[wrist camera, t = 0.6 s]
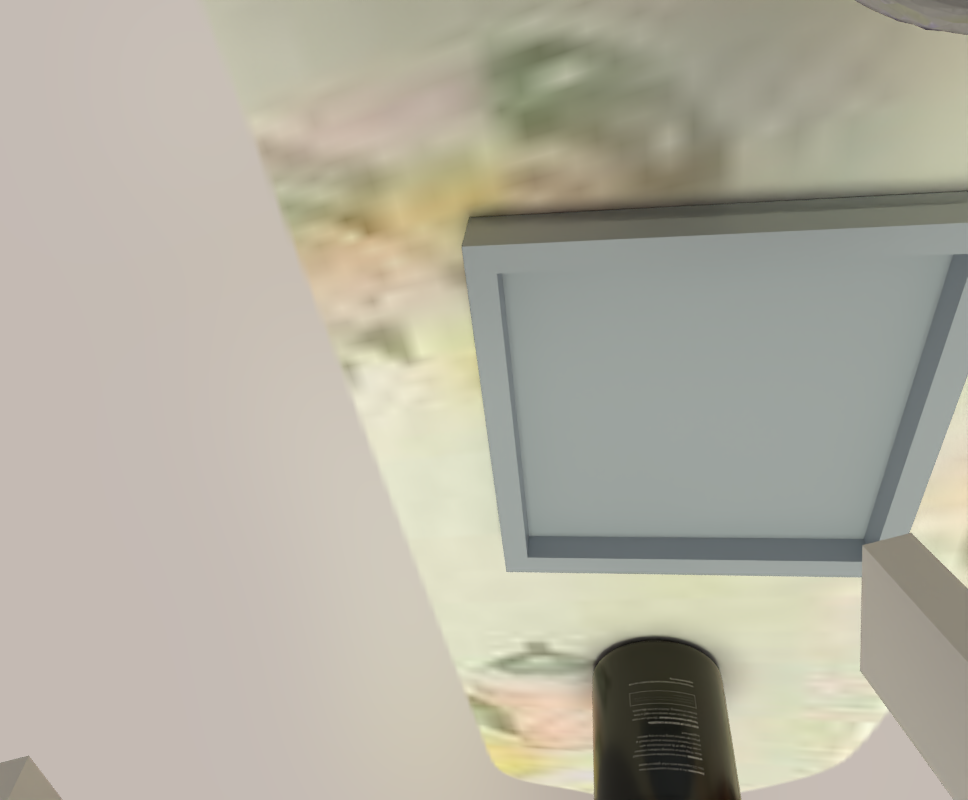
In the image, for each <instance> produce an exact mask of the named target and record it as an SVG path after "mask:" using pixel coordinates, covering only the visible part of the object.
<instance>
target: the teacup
mask: <svg viewBox="0 0 968 800" xmlns="http://www.w3.org/2000/svg"><path fill="white" fill-rule="evenodd" d="M855 1H857V2H859V3H861V4H862V5H864V6H866V7H868V8H870V9H872V10H874V11H876V12H879V13H881V14H883V15H885V16H888V17H890V18H893V19H895V20H897V21H900V22H905V23H909V24H914V25H916V26H918V27H921V28H923V29H926V30H937V31H946V32H952V33H958V34H964V35H968V0H855Z"/></svg>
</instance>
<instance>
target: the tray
mask: <svg viewBox="0 0 968 800" xmlns="http://www.w3.org/2000/svg"><path fill="white" fill-rule="evenodd" d="M462 253H463V260H464V267H465V275H466V282H467V289H468V296H469V304H470V311H471V318H472V325H473V332H474V340H475V347H476V354H477V361H478V369H479V376H480V383H481V390H482V398H483V405H484V412H485V419H486V427H487V434H488V441H489V448H490V456H491V463H492V470H493V477H494V485H495V492H496V499H497V506H498V514H499V521H500V528H501V535H502V543H503V550H504V557H505V564H506V572H550V573H615V574H679V575H744V576H808V577H862V545H865V544H869V543H873V542H877V541H881V540H885V539H889V538H893V537H897V536H901V535H905V534H908V533H909V532H910V530H911V527H912V524H913V522H914V519H915V516H916V514H917V511H918V508H919V505H920V503H921V500H922V497H923V495H924V492H925V489H926V486H927V484H928V481H929V478H930V476H931V473H932V470H933V467H934V465H935V462H936V459H937V457H938V454H939V451H940V449H941V446H942V443H943V440H944V438H945V435H946V432H947V430H948V427H949V424H950V421H951V419H952V416H953V413H954V411H955V408H956V405H957V402H958V400H959V397H960V394H961V392H962V389H963V386H964V384H965V381H966V378H967V375H968V191H962V192H944V193H925V194H906V195H887V196H868V197H849V198H830V199H811V200H792V201H773V202H755V203H736V204H717V205H698V206H679V207H660V208H641V209H622V210H603V211H584V212H566V213H547V214H528V215H509V216H490V217H471V218H469V220H468V224H467V228H466V232H465V236H464V240H463V243H462Z"/></svg>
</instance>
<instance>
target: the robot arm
mask: <svg viewBox="0 0 968 800" xmlns="http://www.w3.org/2000/svg"><path fill="white" fill-rule="evenodd" d="M860 671H861V672H862V674H863V675H864V677H865V678H866V679H867V681H868V682H869V683H870V685H871V686H872V688H873V689H874V690H875V692H876V693H877V695H878V696H879V697H880V699H881V700H882V701H883V703H884V704H885V706H886V707H887V708H888V710H889V711H890V712H891V714H892V715H893V717H894V718H895V719H896V721H897V722H898V723H899V725H900V726H901V728H902V729H903V730H904V732H905V733H906V735H907V736H908V737H909V739H910V740H911V741H912V743H913V744H914V746H915V747H916V748H917V750H918V751H919V753H920V754H921V755H922V756H923V758H924V759H925V761H926V762H927V763H928V765H929V766H930V768H931V769H932V771H933V772H934V773H935V774H936V776H937V777H938V779H939V780H940V782H941V783H942V784H943V786H944V787H945V788H946V790H947V791H948V793H949V794H950V795H951V797H952V798H953V800H968V589H967V588H966V587H965V586H964V585H963V584H962V583H961V582H960V581H959V580H958V579H957V578H956V577H955V576H954V575H953V574H952V573H951V572H950V571H949V570H948V569H947V568H946V567H945V566H944V565H943V564H942V563H941V562H940V561H939V560H938V559H937V558H936V557H935V556H934V555H933V554H932V553H931V552H930V551H929V550H928V549H927V548H926V547H925V546H924V545H923V544H922V543H921V542H920V541H919V540H918V539H917V538H916V537H915V536H914V535H913V534H912V533H908V534H905V535H901V536H897V537H893V538H889V539H885V540H881V541H877V542H873V543H869V544H865V545H862V597H861V652H860ZM0 800H62V798H61V797H60V796H59V794H58V793H57V792H56V791H55V789H54V788H53V787H52V785H51V784H50V783H49V781H48V780H47V779H46V777H45V776H44V775H43V773H42V772H41V771H40V770H39V768H38V767H37V766H36V764H35V763H34V762H33V760H32V759H31V758H30V757H29V756H26V757H22V758H18V759H14V760H10V761H6V762H2V763H0Z"/></svg>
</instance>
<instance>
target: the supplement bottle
mask: <svg viewBox="0 0 968 800" xmlns="http://www.w3.org/2000/svg"><path fill="white" fill-rule="evenodd" d="M592 693H593V695H592V704H593V762H594V800H741V794H740V788H739V782H738V775H737V769H736V763H735V756H734V750H733V743H732V737H731V731H730V724H729V718H728V712H727V705H726V699H725V694H724V688H723V682H722V678H721V674H720V671H719V669H718V667H717V666H716V664H715V663H714V662H713V661H712V660H711V659H710V658H709V657H708V656H707V655H705V654H704V653H703V652H701V651H699V650H697V649H695V648H693V647H691V646H688V645H685V644H681V643H677V642H671V641H659V640H652V641H640V642H634V643H630V644H626V645H623V646H621V647H618V648H616V649H614V650H612V651H611V652H609V653H608V654H606V655H605V656H604V657H603V658H602V659H601V660H600V661H599V663H598V664H597V666H596V668H595V670H594V673H593V681H592Z"/></svg>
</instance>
